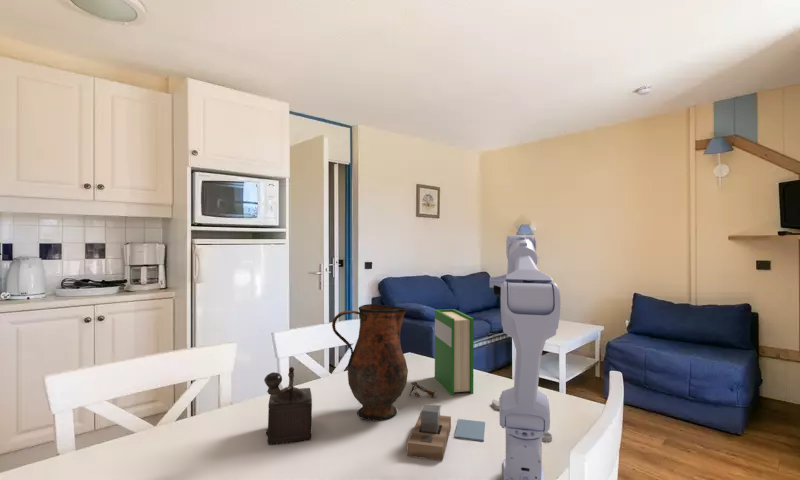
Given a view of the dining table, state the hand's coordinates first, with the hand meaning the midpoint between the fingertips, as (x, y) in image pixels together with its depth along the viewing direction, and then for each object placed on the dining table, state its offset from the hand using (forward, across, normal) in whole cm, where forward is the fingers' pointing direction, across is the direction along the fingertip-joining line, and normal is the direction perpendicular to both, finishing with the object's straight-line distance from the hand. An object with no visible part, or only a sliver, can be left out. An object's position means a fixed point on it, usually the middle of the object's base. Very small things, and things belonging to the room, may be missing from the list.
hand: (516, 300), depth 111 cm
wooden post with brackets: (+28, +28, +19) cm, 44 cm away
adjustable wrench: (+21, -1, +25) cm, 33 cm away
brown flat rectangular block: (+7, +21, +37) cm, 43 cm away
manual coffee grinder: (+2, +55, +42) cm, 69 cm away
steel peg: (+7, +21, +37) cm, 43 cm away
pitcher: (+16, +40, +30) cm, 52 cm away
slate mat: (+13, +12, +31) cm, 36 cm away
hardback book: (+37, +20, +10) cm, 43 cm away
